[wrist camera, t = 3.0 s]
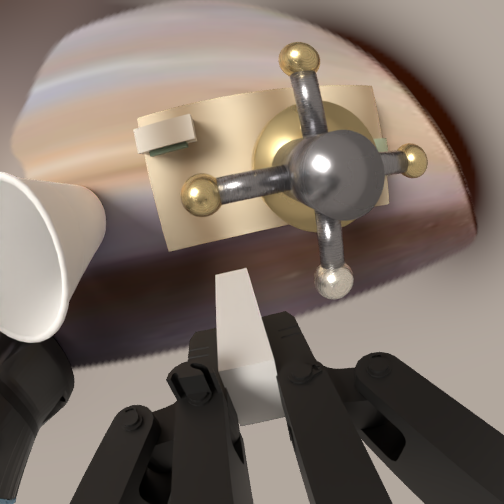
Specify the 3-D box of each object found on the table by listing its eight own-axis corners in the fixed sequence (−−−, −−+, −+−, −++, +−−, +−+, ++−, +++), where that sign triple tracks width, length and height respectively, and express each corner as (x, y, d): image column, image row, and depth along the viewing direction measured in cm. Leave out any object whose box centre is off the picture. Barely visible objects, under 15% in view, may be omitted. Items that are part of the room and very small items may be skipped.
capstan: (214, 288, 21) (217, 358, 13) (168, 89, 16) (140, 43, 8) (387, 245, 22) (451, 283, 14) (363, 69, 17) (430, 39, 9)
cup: (151, 207, 21) (99, 249, 11) (96, 294, 23) (43, 370, 12) (67, 140, 18) (-20, 137, 8) (23, 232, 20) (-52, 275, 9)
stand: (173, 242, 22) (163, 263, 18) (145, 122, 19) (127, 112, 14) (374, 199, 23) (406, 209, 19) (357, 91, 20) (388, 79, 15)
